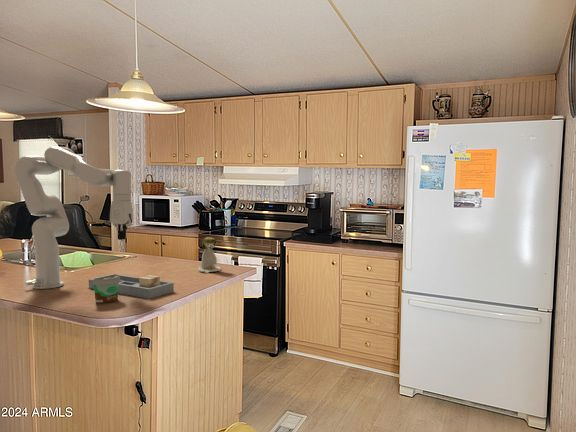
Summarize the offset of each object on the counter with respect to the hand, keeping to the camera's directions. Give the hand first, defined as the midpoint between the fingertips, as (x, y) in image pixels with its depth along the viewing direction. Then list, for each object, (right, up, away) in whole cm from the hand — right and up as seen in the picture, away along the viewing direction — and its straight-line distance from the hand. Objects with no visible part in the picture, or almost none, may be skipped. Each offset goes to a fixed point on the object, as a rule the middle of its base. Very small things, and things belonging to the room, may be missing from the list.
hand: (121, 239), depth 198 cm
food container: (+3, -24, -19) cm, 31 cm away
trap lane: (+4, -23, +1) cm, 23 cm away
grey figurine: (+32, -20, +45) cm, 58 cm away
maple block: (+14, -21, -5) cm, 26 cm away
